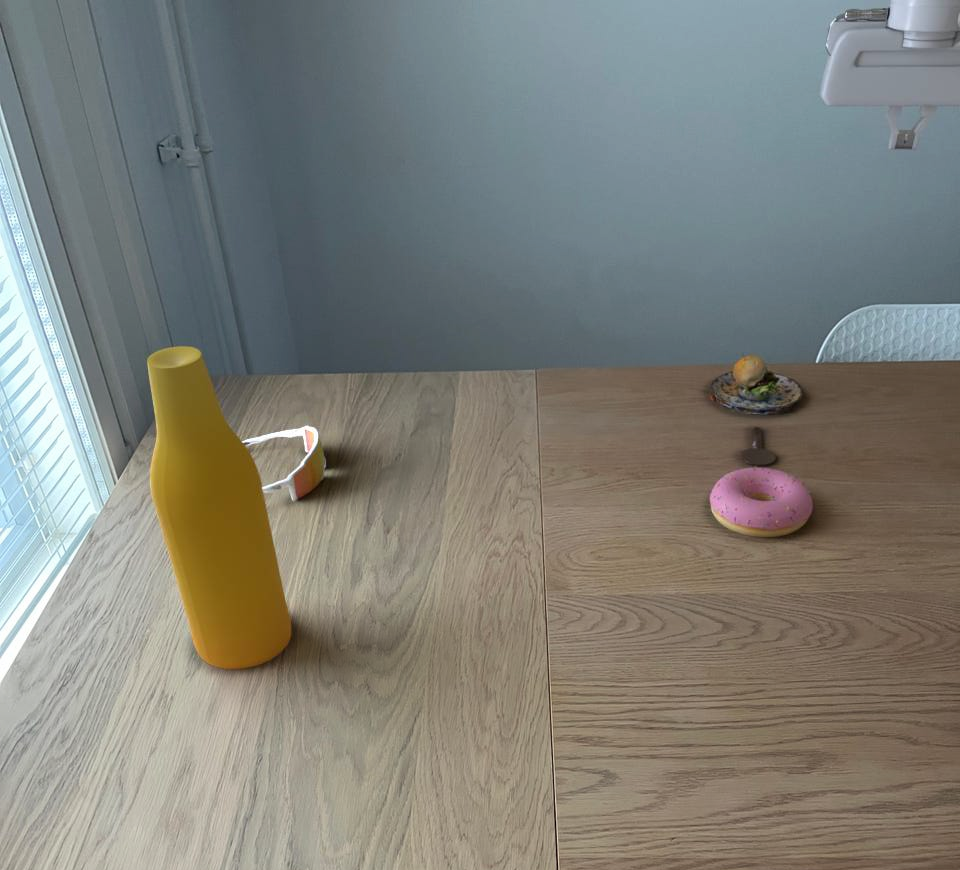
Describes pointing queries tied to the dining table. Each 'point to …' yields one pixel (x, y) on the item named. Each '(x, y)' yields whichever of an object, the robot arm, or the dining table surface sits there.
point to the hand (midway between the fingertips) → (902, 148)
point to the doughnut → (761, 502)
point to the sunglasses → (310, 467)
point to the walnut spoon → (757, 452)
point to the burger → (755, 389)
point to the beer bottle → (213, 519)
